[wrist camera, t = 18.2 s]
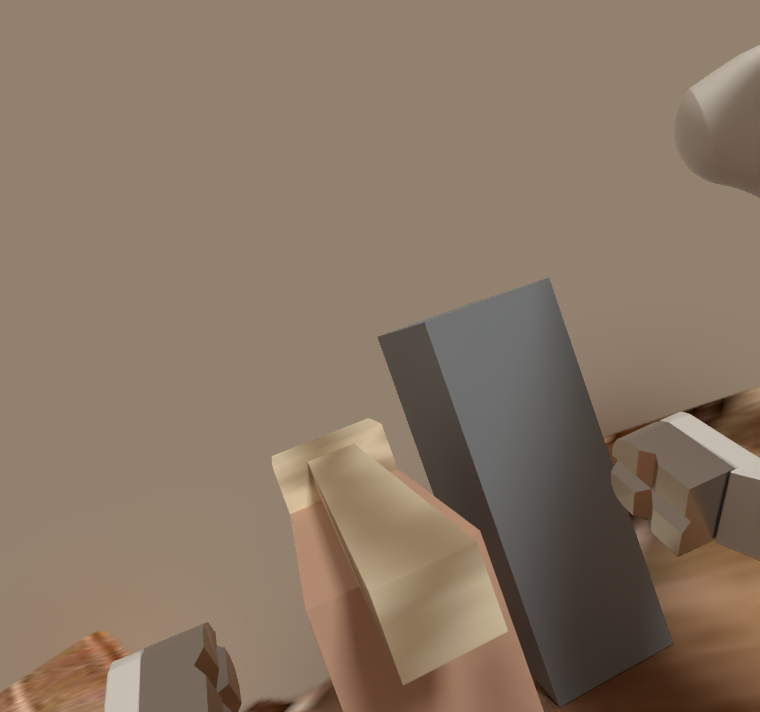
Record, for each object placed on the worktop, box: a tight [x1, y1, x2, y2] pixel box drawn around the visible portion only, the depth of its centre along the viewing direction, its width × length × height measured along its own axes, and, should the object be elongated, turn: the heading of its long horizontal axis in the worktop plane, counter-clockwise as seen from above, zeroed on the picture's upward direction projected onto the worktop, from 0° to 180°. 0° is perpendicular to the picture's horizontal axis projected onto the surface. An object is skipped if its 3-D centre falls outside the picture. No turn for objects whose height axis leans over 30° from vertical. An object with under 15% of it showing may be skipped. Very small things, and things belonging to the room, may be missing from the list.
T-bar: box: [272, 418, 508, 685], centre depth 24 cm, size 7×23×3 cm, turn 14°
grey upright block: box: [378, 278, 673, 707], centre depth 41 cm, size 9×14×26 cm, turn 13°
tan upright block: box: [290, 469, 544, 712], centre depth 29 cm, size 7×20×18 cm, turn 13°
